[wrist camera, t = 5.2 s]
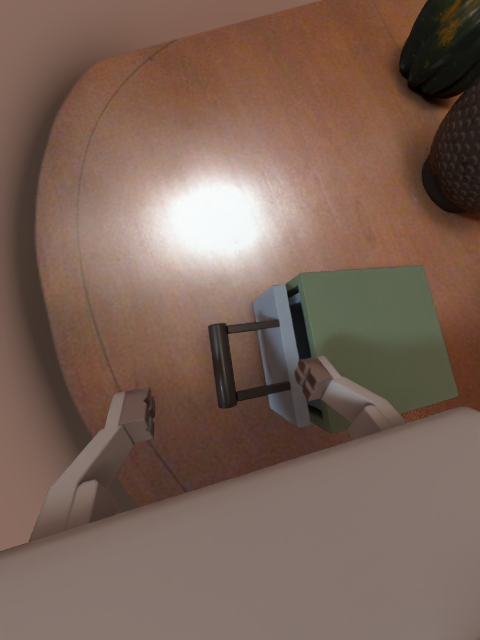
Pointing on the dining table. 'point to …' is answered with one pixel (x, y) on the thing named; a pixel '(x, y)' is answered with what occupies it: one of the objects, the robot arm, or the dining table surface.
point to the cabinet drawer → (268, 356)
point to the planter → (456, 156)
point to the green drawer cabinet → (376, 336)
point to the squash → (443, 48)
